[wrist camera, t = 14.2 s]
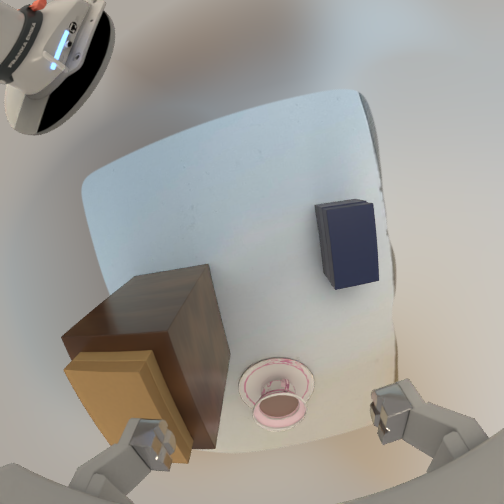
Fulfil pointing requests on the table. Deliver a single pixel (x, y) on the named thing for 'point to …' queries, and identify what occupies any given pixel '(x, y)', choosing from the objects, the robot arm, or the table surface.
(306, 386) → the teacup
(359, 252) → the navy book
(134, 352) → the tan books
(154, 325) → the book stand
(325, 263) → the navy books
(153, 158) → the table surface
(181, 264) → the table surface
